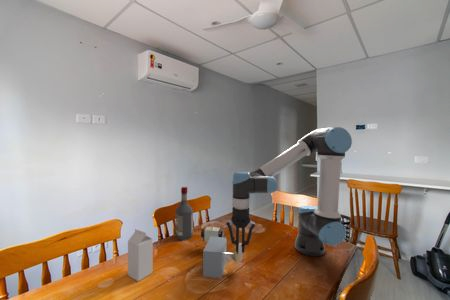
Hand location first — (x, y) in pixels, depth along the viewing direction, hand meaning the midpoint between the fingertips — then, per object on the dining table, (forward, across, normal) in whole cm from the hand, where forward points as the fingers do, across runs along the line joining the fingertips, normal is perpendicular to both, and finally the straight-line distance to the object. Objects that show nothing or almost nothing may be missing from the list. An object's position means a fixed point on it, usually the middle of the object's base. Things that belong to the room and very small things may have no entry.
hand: (240, 259), depth 92 cm
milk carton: (+5, +42, +10) cm, 44 cm away
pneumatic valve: (+5, +16, -17) cm, 24 cm away
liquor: (+5, +36, -28) cm, 46 cm away
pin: (+1, +9, 0) cm, 9 cm away
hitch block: (+5, +11, 0) cm, 12 cm away
